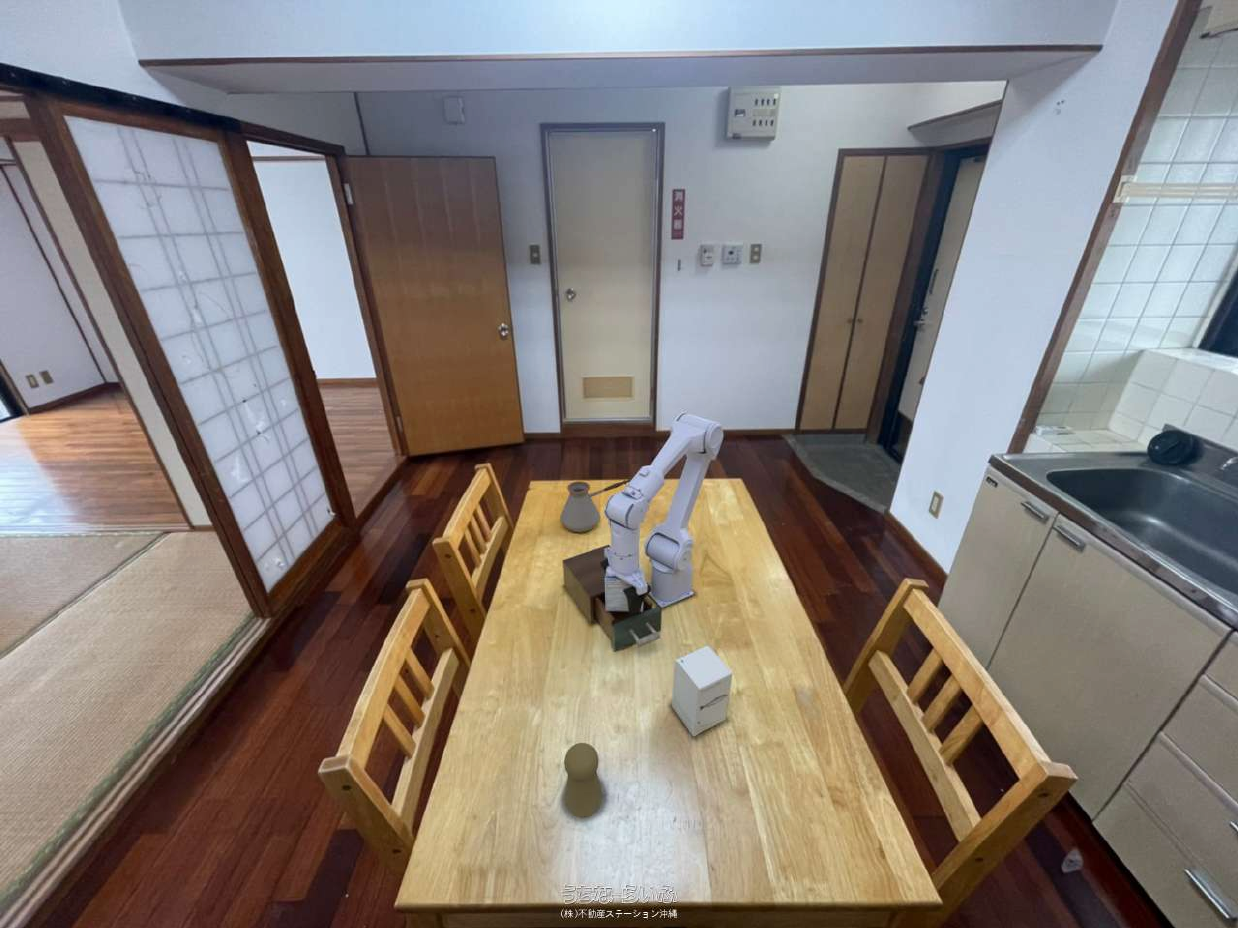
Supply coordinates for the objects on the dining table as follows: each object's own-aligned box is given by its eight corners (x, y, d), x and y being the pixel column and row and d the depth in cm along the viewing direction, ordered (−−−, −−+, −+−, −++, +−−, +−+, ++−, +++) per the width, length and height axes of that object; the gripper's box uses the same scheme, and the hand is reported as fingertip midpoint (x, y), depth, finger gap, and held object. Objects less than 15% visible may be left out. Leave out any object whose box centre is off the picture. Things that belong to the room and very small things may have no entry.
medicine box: (643, 599, 112) (643, 566, 109) (642, 613, 108) (642, 579, 105) (607, 598, 113) (606, 565, 109) (605, 611, 109) (604, 577, 105)
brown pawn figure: (564, 780, 85) (560, 737, 80) (601, 776, 85) (600, 734, 80) (564, 819, 79) (560, 776, 74) (603, 815, 80) (602, 772, 75)
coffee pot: (559, 537, 145) (556, 491, 138) (561, 514, 155) (558, 470, 148) (635, 535, 145) (635, 489, 138) (632, 512, 155) (633, 468, 148)
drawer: (672, 644, 109) (673, 622, 106) (625, 666, 104) (625, 643, 101) (629, 593, 123) (629, 573, 120) (586, 610, 118) (585, 589, 115)
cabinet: (639, 604, 121) (639, 577, 117) (591, 624, 115) (589, 597, 111) (609, 569, 132) (608, 544, 128) (564, 586, 126) (562, 560, 123)
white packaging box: (693, 738, 91) (698, 689, 85) (670, 706, 97) (673, 658, 91) (727, 721, 94) (733, 672, 88) (703, 690, 100) (707, 643, 94)
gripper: (591, 535, 108) (592, 586, 114) (625, 574, 97) (625, 628, 103) (620, 526, 111) (620, 576, 117) (657, 563, 100) (654, 616, 106)
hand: (624, 600), depth 110 cm, fingers closed on medicine box, 7 cm apart
